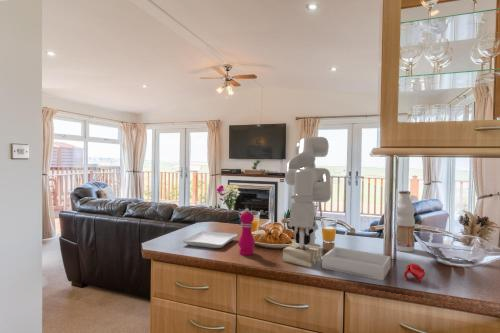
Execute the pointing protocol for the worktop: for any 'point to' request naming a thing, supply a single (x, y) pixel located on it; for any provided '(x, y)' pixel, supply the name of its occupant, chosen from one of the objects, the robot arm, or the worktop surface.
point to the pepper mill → (246, 234)
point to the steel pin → (302, 238)
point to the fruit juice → (405, 223)
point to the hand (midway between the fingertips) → (302, 242)
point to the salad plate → (209, 239)
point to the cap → (414, 272)
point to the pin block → (302, 255)
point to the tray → (357, 263)
